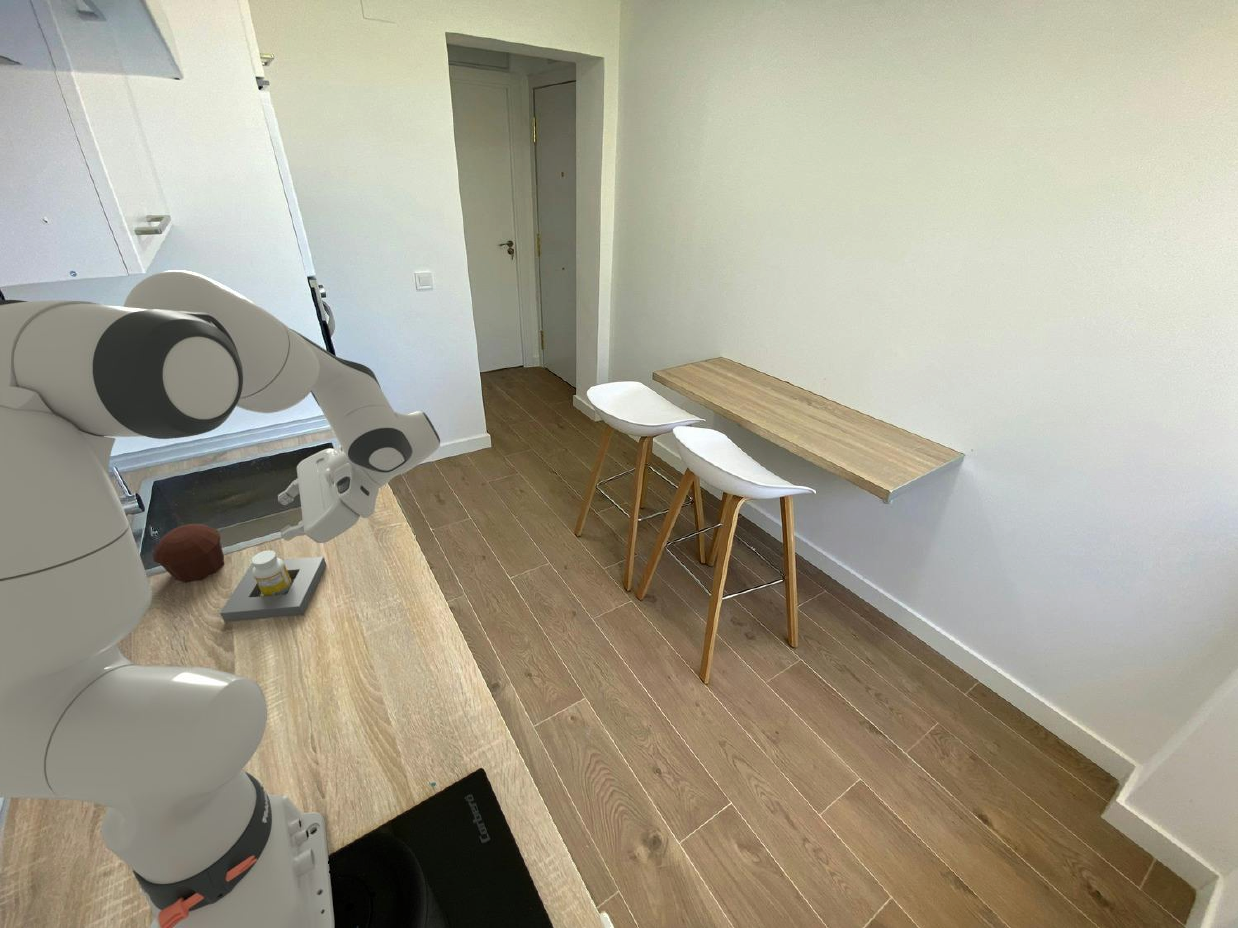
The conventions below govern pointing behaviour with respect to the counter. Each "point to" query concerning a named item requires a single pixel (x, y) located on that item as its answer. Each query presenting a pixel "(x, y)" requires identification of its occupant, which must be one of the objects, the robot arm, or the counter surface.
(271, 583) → the supplement bottle
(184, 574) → the muffin
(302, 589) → the frame
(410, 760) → the counter surface
